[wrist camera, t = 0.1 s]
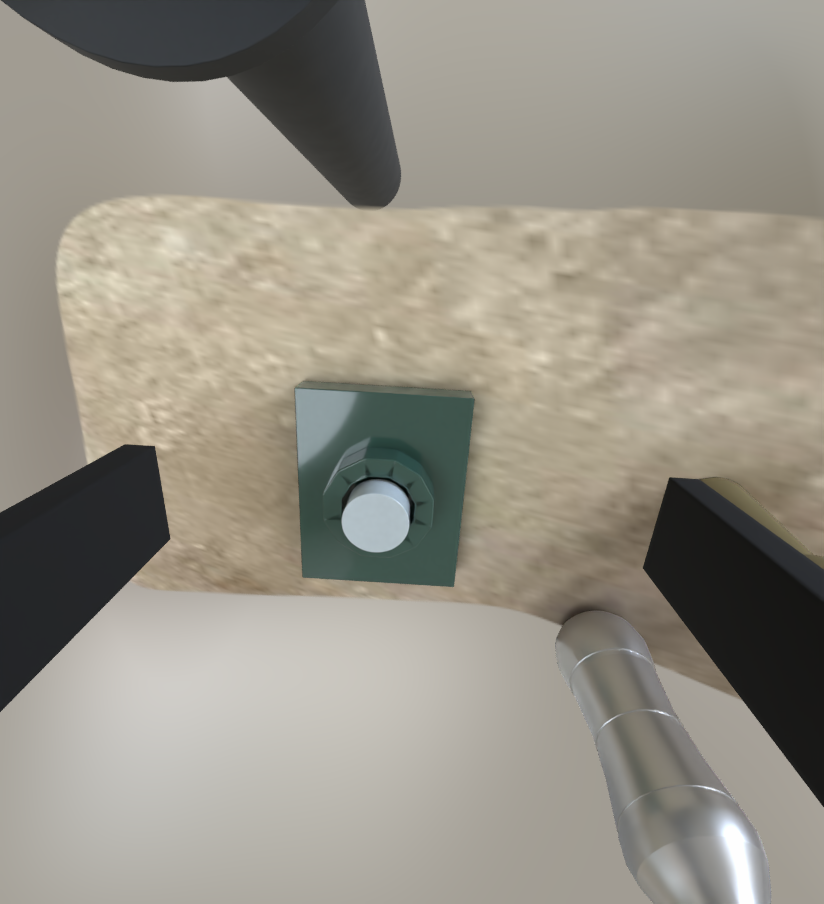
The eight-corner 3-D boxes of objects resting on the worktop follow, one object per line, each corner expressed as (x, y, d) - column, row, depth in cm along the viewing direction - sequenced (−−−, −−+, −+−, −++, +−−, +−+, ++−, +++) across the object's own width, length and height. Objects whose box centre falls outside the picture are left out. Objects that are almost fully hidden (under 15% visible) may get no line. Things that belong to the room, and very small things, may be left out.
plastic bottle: (607, 671, 37) (792, 1068, 18) (533, 647, 36) (648, 1036, 18) (648, 613, 35) (907, 1000, 16) (570, 587, 34) (746, 960, 15)
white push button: (347, 476, 27) (341, 491, 25) (412, 480, 27) (411, 495, 25) (347, 532, 29) (341, 550, 27) (408, 536, 29) (407, 554, 27)
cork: (645, 538, 32) (748, 659, 22) (689, 466, 30) (825, 563, 20) (719, 561, 33) (853, 688, 23) (767, 491, 31) (939, 598, 20)
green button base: (302, 380, 29) (284, 395, 25) (471, 390, 29) (478, 407, 25) (308, 561, 34) (294, 596, 30) (452, 570, 34) (455, 606, 30)
